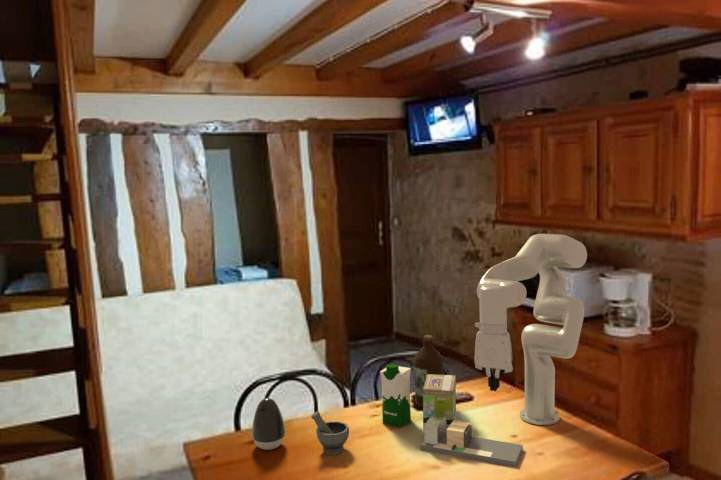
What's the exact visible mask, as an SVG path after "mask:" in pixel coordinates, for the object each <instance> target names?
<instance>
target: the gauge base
mask: <svg viewBox="0 0 721 480" xmlns="http://www.w3.org/2000/svg"><path fill="white" fill-rule="evenodd" d="M523 447H524V445H523V444H519V443H513V442H507V441H501V440H497V439H496V440H495V439H489V438H481V437H477V436H476V437H475V436H472V439H471V440H470V442H469V444H468V445H467V447H466V446H465V447H464V448H458V447H455V449H454V450H452V446H447V434H446V435H445V437H444V438H443V439H442V441H441V442H440V443H439V445H438V446H435V445H434V446H433V445H428V444H425V439H424V440H423V441H422V442H421V444H420V451H426V452H431V453H437V454H443V455H449V456H452V457H453V456H454V457H460V458H466V459H469V460H477V461H481V462H486V463H491V464H492V463H493V464H497V465H504V466H509V467H510V466H511V467H514V468H515V467H517V464H518V462H519V460H520V457H521V455H522V453H523V450H524V449H523Z"/></svg>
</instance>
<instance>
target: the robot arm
mask: <svg viewBox="0 0 721 480" xmlns="http://www.w3.org/2000/svg"><path fill="white" fill-rule="evenodd" d="M586 248H587V247H586V246H585V245H584V244H583V243H582V242H581V241H579V240H577V239H575V238H573V237H571V236H568V235H566V234H557V233H556V234H553V233H537V234H534V235H531V236H530V237H529V238H528V239H527V241H526V242H524V245H522V247H521V249H520V250H519V251H518V252H517V253H516V255H515V256H514V257H511V258H508V259H507V260H504V261H502V262H500V263H498V264H495V265H493V266H492V267H490V268H489V269H488V270H487V271H486V272H485V273H484V275H483V276H481V278H480V280H479V283H478V285H477V286H476V287H477V288H476V296H477V297H478V299H479V300H478V301H479V304H478V305H479V322H475V323H474V327H475V328H478V331H477V332H476V335H475V336H476V338H475V345H474V365H475V366H474V367H475V368H476V369H477V370H481V371H482V372H484V374H485V375H486V377H487V380H488V381H487V387H489V391H490V392H497V390H498V389H500V386H501V385H500V381H501V379H500V378H501V376H502V375H503V374H506V373H512V372H513V369H514V367H513V365H512V364H513V350H512V349H513V348H512V341H511V335H510V332H508V331H507V329H508V328H507V326H508V323H507V320H508V318H507V313H508V312H507V310H508V308H509V309H510V308H516V307H519V306H521V305H522V304H523V303H524V302H525V300H526V299H527V288H526V286H525V285H524V284H523V283H522V282H520V281H525V280H529V279H533V278H535V277H536V276H537V275H538V273H539V284H538V289H537V293H536V297H535V300H534V301H535V302H534V305H533V317H534V318H535V319H536V320H537V321H539V322H542V323H543V322H544V323H548V324H554V325H555V324H556V325H559V326H560V325H562V326H563V327H559V326H553V325H548V324H547V325H546V324H540V323H532V324H530V323H529V324H528V325H526V326H524V328H523V329H522V332H521V345H522V349H523V350H522V351H523V355H524V356H523V358H524V408H522V409H521V410H520V412H519V417H520V419H521V420H522V421H524V422H526V423H528V424H531V425H532V424H533V425H536V426H549V425H550V426H551V425H554V424H557V423H558V422H559V421H560V414H559V412H557V411H555V387H556V385H555V383H556V381H555V380H556V379H555V378H556V377H555V376H556V375H555V374H556V368H555V364H554V362H553V360H552V357H553V358H554V357H555V358H561V359H571V358H573V357H574V356H575V354H576V353H577V349H578V346H579V341H580V337H581V332H582V326H583V322H584V317H585V306H584V303H583V301H582V300H581V299H580V298H578V297H575V296H569V295H565V293H566V292H565V291H566V288H567V281H566V278H565V275H564V274H563V273H562V271H561V270H560V269H559V268H569V269H570V268H573V269H579V268H582V267H583V266H584V265H585V264H586V262H587V258H588V252H587V249H586ZM494 370H495V372H493V371H494Z"/></svg>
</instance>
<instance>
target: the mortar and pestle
mask: <svg viewBox="0 0 721 480" xmlns="http://www.w3.org/2000/svg"><path fill="white" fill-rule="evenodd" d="M310 417H311V419H312V420H314V423H315V424H316V431H315V432H316V437H317V439H318V441H319V443H320V445H321V446H322V451H323V452H324V454H327V455H338V454H341V453H342V452H344V450H345V448H344V445H345V444H346V442H347V440H348V439H349V437H350V436H349V434H350V426H349V425H348V423H345V422H342V421H337V420H335V421H334V420H333V421H325V420H324V419H323V417H322V416H321V413H320V412H319V411H315V412H313V413H312V414H311V416H310Z"/></svg>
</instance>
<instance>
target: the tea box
mask: <svg viewBox="0 0 721 480" xmlns="http://www.w3.org/2000/svg"><path fill="white" fill-rule="evenodd" d="M456 378H457V376H456V375H454V374H443V375H434V374H427V377H426V381H425V384H424V388H423V408H422V433H423V434H425V433H424V425H425V423H426V422H427V421H428V420H429V419H430V417H431V416H432V415H433V414H441V415H446V431H447V428H448V427H449V426H450V424H451V423H452V422H453V420H455V421H456V417H457V412H456V411H457V410H456V409H457V402H456V401H457V386H456V385H457V384H456V383H457V379H456Z"/></svg>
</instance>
